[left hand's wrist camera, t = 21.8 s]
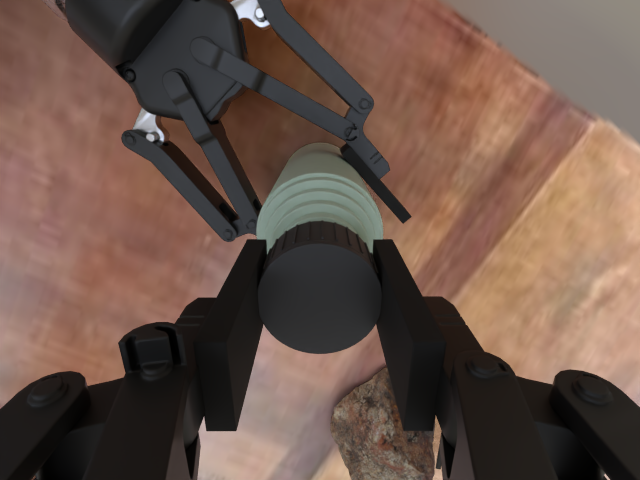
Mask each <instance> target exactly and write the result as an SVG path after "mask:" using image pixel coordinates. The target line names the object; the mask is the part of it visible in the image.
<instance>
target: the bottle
mask: <svg viewBox="0 0 640 480" xmlns="http://www.w3.org/2000/svg"><path fill="white" fill-rule="evenodd" d="M339 149H340V148H338V147H337V146H334V145H332V144H328V143H311V144H308V145H305V146H303V147H301V148H300V149H298V150H297V151H296V152H294V154H293V155H292V156H291V157H290V158H289V160H288V162H287V163H286V165H285V167H284V169H283V170H282V172H281V174H280V176H279V178H278V179H277V181H276V183H275V185H274V187H273V188H272V190H271V192H270V194H269V196H268V197H267V199H266V201H265V203H264V205H263V207H262V208H261V211H260V214H259V216H258V221H257V229H256V235H257V239H266V241H267V254H268V252H269V249H270V248H272V246H273V245H274V243H275V241H276V239H279V237H280V236H281V235H283V234H284V233H285V231H286V230H287V231H288V230H289V229H291V228H293V227H295V226H296V225H297V224H298V225H299V224H303V223H306V222H308V221H310V222H312V221H321V220H323V221H328V222H333V223H334V222H336V223H337V224H340V225H342V226H345V227H348V228H349V229H350V230H352V231H353V232H355V233H356V234H359V237H360V238H361V239H362V240H363V241H364V243H365V242H366V243H367V246H368V249H369V251H370V253H371V252H372V253H373V239H383V223H382V218H381V215H380V212H379V209H378V207H377V205H376V204H375V202H374V200H373V198H372V196H371V195H370V193H369V191H368V189H367V187H366V186H365V184H364V182H363V180H362V178H361V176H360V175H359V174H358V172H357V171H356V170H355V169H354V168H353V167H352V166H351V165H350V163H349V162H348V161H347V160H346V159H345V158H344V157H343V156H342V154H341V152H340V150H339Z"/></svg>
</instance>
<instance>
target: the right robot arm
mask: <svg viewBox="0 0 640 480" xmlns="http://www.w3.org/2000/svg"><path fill="white" fill-rule="evenodd" d="M42 1H43V2H44V3H45V4H46V5H47V6H48V7H49V8H50V9H51V10H52V11H53V12H54V13H55V14H56V15H57V16H59V17H60V18H62V19H64V20H66V21H68V23H69V25H70V27H71V28H72V30H73V31H74V32H75V33H76V34H77V35H78V36H79V37H80V38H81V39H82V40H83V41H84V42H85V43H86V44H87V45H88V46H89V47H90V48H91V49H93V50H94V51H95V52H96V53H97V54H98V55H99V56H100V57H101V58H102V59H103V60H104V61H105V62H106V63H107V64H108V65H109V66H110V67H111V68H112V69H113V70H114V71H115V72H116V73H117V74H118V75H119V76H120V77H122V78H123V79H124V80H125V81H126V82H127V83H128V84H129V85H130V86H131V88H132V89H133V91H134V93H135V95H136V98H137V100H138V102H139V104H140V106H141V107H142V108H141V111H140V113H139V115H138V118H137V120H136V122H135V125H134V127H133V129H132V130H127V131H125V132H124V133H123V134H122V137H121V139H122V142H123V144H124V145H125V146H126V147H127V148H129V149H130V150H132V151H134V152H135V153H137V154H139V155H140V156H142V157H144V158H146V159H147V160H149V161H151V162H152V163H153V164H154V165H155V167H156V168H157V169H158V170H159V171H160V172H161V173H162V174H163V175H164V176H165V177H166V178H167V180H168V181H169V182H170V183H171V184H172V185H173V186H174V187H175V188H176V189H177V190H178V192H179V193H180V194H181V195H182V196H183V197H184V198H185V199H186V200H187V201H188V202H189V203H190V205H191V206H192V207H193V208H194V209H195V210H196V211H197V212H198V213H199V214H200V215H201V217H202V218H203V219H204V220H205V221H206V222H207V223H208V224H209V225H210V226H211V227H212V228H213V230H214V231H215V232H216V233H217V234H218V235H219V236H220V237H221V238H222V239H223V240H224V241H227V242H231V241H233V240H234V239H235V238H237V237H239V236H242V235H244V234H247V233H251V234H254V235H256V229H257V221H258V216H259V214H260V211H261V208H262V205H261V203H260V201H259V199H258V197H257V195H256V193H255V191H254V189H253V187H252V185H251V184H250V182H249V180H248V178H247V176H246V174H245V172H244V170H243V168H242V166H241V164H240V162H239V160H238V158H237V156H236V154H235V152H234V150H233V148H232V146H231V144H230V142H229V140H228V138H227V136H226V133H225V129H224V127H223V125H222V123H221V121H220V118H221V117H222V116H223V115H224V114H225V112H226V111H227V109H228V107H229V105H230V103H231V101H233V100H234V99H236V98H238V97H239V96H241V95H242V94H243V93H244V92H245V91H246V90H247V89H248V88H250V89H252V90H254V91H256V92H258V93H260V94H262V95H263V96H265V97H267V98H269V99H271V100H272V101H274V102H276V103H278V104H280V105H281V106H283V107H285V108H287V109H289V110H290V111H292V112H294V113H296V114H298V115H299V116H301V117H303V118H305V119H307V120H308V121H310V122H312V123H314V124H316V125H318V126H319V127H321V128H323V129H325V130H327V131H328V132H330V133H332V134H334V135H336V136H337V137H339V138H341V139H343V140H344V141H345V142H346V144H345V145H344V146H343V147H342V148H341V149H339V150H340V152H341V154H342V156H343V157H344V158H345V159H346V160H347V161H348V162H349V163H350V165H351V166H352V167H353V168H354V169H355V170H356V171H357V172H358V174H359V175H360V176H361V177H362V178H363V179H364V180H365V181H366V183H367V184H368V185H369V186H370V187H371V188H372V189H373V190H374V192H375V193H376V194H377V195H378V196H379V197H380V198H381V199H382V201H383V202H384V203H385V204H386V205H387V206H388V207H389V208H390V210H391V211H392V212H393V213H394V214H395V215H396V216H397V217H398V219H399V220H400V221H401V222H402V223H405V222H406V221H407V220H408V219H409V218H411V215H410V214H409V213H408V212H407V210H406V209H405V208H404V207H403V206H402V204H401V203H400V202H399V201H398V200H397V199H396V198H395V196H394V195H393V194H392V193H391V192H390V191H389V190H388V188H387V187H386V186H385V185H384V184H383V183H382V181H381V180H380V178H382V177H383V176H384V175H385V174H386V173H387V172H388V171H390V168H389V165H388V162H387V161H386V160H385V159H384V158H383V156H382V155H381V154H380V153H379V152H378V150H377V149H376V148H375V147H374V146H373V145H372V143H371V142H370V141H369V140H368V139H367V138H366V136H365V135H364V132H363V124H364V122H365V120H366V118H367V116H368V114H369V112H370V111H371V110H372V109H373V106H374V101H373V99H372V97H371V96H370V95H369V94H368V93H367V92H366V91H365V90H364V89H363V88H362V87H361V86H360V85H359V84H358V83H357V82H356V81H355V80H354V79H353V78H352V77H351V76H350V75H349V74H348V73H347V72H346V71H345V70H344V69H343V68H342V67H341V66H340V65H339V64H338V63H337V62H336V61H335V60H334V59H333V58H332V57H331V56H330V55H329V54H328V53H327V52H326V51H325V50H324V49H323V48H322V47H321V46H320V45H319V44H318V43H317V42H316V41H315V40H314V39H313V38H312V37H311V36H310V35H309V34H308V33H307V32H306V31H305V30H304V29H303V28H302V27H301V26H300V25H299V24H298V23H297V22H296V21H295V20H294V19H293V18H292V17H291V16H290V15H289V14H288V13H287V12H286V10H285V8H284V6H283V4H282V2H281V0H234V1H232V2H231V3H230V2H228V1H227V0H42ZM245 21H251V22H253V23H254V24H255V25H256V26H257V27H258V28H259V29H261V30H268V29H269V28H271V27H272V28H273V30H274V31H275V32H276V34H277V35H278V37H279V38H280V39H281V40H282V41H283V42H284V43H285V44H286V45H287V46H288V47H289V48H290V49H291V50H292V51H293V52H294V53H295V54H296V55H297V56H298V57H299V58H300V59H301V60H302V61H304V62H305V63H306V64H307V65H308V66H309V67H310V68H311V69H312V70H313V71H314V72H315V73H316V74H317V75H318V76H319V77H320V78H321V79H322V80H323V81H324V82H325V83H326V84H327V85H328V86H329V87H330V88H331V89H332V90H333V91H334V92H335V93H336V94H337V95H338V96H339V97H340V98H342V99H343V100H344V101H345V102H346V103H347V104H348V105H349V106H350V107H349V109H348V111H347V113H346V115H345V117H342V116H340V115H338V114H337V113H335V112H333V111H331V110H329V109H328V108H326V107H324V106H322V105H321V104H319V103H317V102H315V101H314V100H312V99H310V98H308V97H306V96H305V95H303V94H301V93H299V92H298V91H296V90H294V89H292V88H291V87H289V86H287V85H285V84H284V83H282V82H280V81H278V80H276V79H275V78H273V77H271V76H269V75H268V74H266V73H264V72H262V71H261V70H259V69H257V68H255V67H253V66H252V65H250V64H249V60H248V54H247V48H246V42H245V36H244V31H243V25H242V23H243V22H245ZM161 116H162V117H167V118H172V119H177V120H182V121H184V122H185V124H186V125H187V127H188V129H189V131H190V133H191V135H192V136H193V138H194V140H195V141H196V142H197V143H198V144H199V145H200V146H201V148H202V149H203V151H204V153H205V155H206V157H207V159H208V161H209V162H210V164H211V166H212V168H213V170H214V172H215V173H216V175H217V177H218V179H219V181H220V183H221V185H222V186H223V188H224V190H225V192H226V194H227V196H228V198H229V199H230V201H231V203H232V205H233V207H234V209H235V210H236V212H237V213H236V212H235V211H234V210H233V209H232V208H231V207H230V205H229V204H228V203H227V202H226V201H225V200H224V199H223V198H222V196H221V195H220V194H219V193H218V192H217V191H216V190H215V188H214V187H213V186H212V185H211V184H210V183H209V182H208V180H207V179H206V178H205V177H204V176H203V175H202V174H201V173H200V171H199V170H198V169H197V168H196V167H195V166H194V165H193V163H192V162H191V161H190V160H189V159H188V158H187V157H186V155H185V154H184V153H183V152H182V151H181V150H180V149H179V148H178V147H177V146H176V145H175V144H173V143H172V142H171V141H169V133H168V131H167V130H166V129H165V128H164V127H163V125H162V123H161ZM237 214H238V215H237ZM256 236H257V235H256Z"/></svg>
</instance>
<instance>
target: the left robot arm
mask: <svg viewBox="0 0 640 480" xmlns="http://www.w3.org/2000/svg"><path fill="white" fill-rule="evenodd" d="M372 255H373V257H374V260H375V263H376V266H377V269H378V272H379V275H378V277H379V280H380V283H381V287H382V299H381V313H380V316H379V319H378V321H377V323H376V325H377V329H378V333H379V337H380V341H381V345H382V349H383V353H384V357H385V361H386V364H387V368H388V372H389V376H390V380H391V384H392V388H393V392H394V396H395V400H396V404H397V408H398V412H399V416H400V420H401V424H402V427H403V431H433V429H434V422H435V416H437V419H438V422H439V424H440V427H441V430H442V432H441V438H440V445H439V451H438V457H437V463H436V469H441V466H442V475H443V480H607V479H606V478H605V476H604V474H606V475H607V476H608V477H609V479H610V480H640V407H639V406H638V405H637V404H636V403H634V402H633V401H632V400H631V399H630V398H629V397H628V396H627V395H626V394H625V393H624V392H623V391H621V390H620V389H619V388H617V387H616V386H615V385H613V384H612V383H611V382H609V381H607V380H605V379H603V378H601V377H599V376H597V375H594V374H591V373H588V372H584V371H579V370H565V371H560V372H559V373H558V374H557V375H556V376H555V378H554V382H553V385H552V384H547V383H543V382H538V381H534V380H529V379H525V378H522V377H518V376H516V375H515V373H514V371H513V370H512V369H511V367H510V366H509V365H508V364H507V363H506V362H505V361H503V360H502V359H501V358H499V357H497V356H495V355H492V354H490V353H487V352H484V350H483V349H482V347H481V346H480V344H479V343H478V341H477V340H476V338H475V337H474V335H473V334H472V332H471V331H470V329H469V328H468V326H467V325H466V324H465V322H464V320H463V319H462V317H460V314H459V312H458V311H457V309H456V308H455V306H454V305H453V304H451V303H450V302H449V301H447V300H446V299H444V298H443V297H422V295H421V293H420V291H419V289H418V287H417V285H416V283H415V281H414V280H413V278H412V276H411V274H410V272H409V270H408V268H407V266H406V264H405V263H404V261H403V259H402V257H401V255H400V253H399V251H398V249H397V247H396V246H395V244H394V242H393V240H392V239H373V253H372ZM266 257H267V241H266V239H247V241H246V243H245V245H244V247H243V249H242V251H241V252H240V254H239V256H238V258H237V260H236V262H235V264H234V266H233V268H232V269H231V271H230V273H229V275H228V277H227V279H226V281H225V283H224V285H223V286H222V288H221V290H220V292H219V294H218V296H217V298H197V299H196V300H194V301H193V302H191V303H190V304H189V305H187V306H186V307H185V309H184V310H183V312H182V313H181V315H180V318H178V320H177V321H176V323H175V324H173V323H169V322H155V323H151V324H146V325H143V326H141V327H138V328H136V329H133V330H132V331H130V332H129V333H127V334H126V335H124V336H123V338H122V339H121V340H120V341H119V343H118V344H119V348H120V352H121V356H122V360H123V364H124V368H125V372H126V374H125V376H124V377H123V378H120V379H117V380H113V381H108V382H104V383H99V384H95V385H90V386H87V383H86V380H85V377H84V376H82V375H81V374H80V373H77V372H72V371H67V372H58V373H55V374H51V375H48V376H45V377H43V378H41V379H39V380H37V381H35V382H33V383H31V384H29V385H28V386H26V387H25V388H24V389H22V390H21V391H20V392H18V393H17V394H16V395H15V396H14V397H13V398H12V399H11V400H10V401H9V402H8V403H7V404H5V405H4V406H3V407H2V408H1V409H0V480H31V479H32V478H33V477H34V476H35V475H36V478H35V479H34V480H197V476H198V466H199V457H200V447H201V446H200V439H199V432H198V431H199V428H200V425H201V423H202V420H203V417H204V418H205V424H206V431H236V430H237V426H238V422H239V418H240V414H241V410H242V407H243V403H244V399H245V395H246V391H247V387H248V383H249V379H250V375H251V371H252V367H253V363H254V359H255V355H256V351H257V348H258V344H259V340H260V336H261V332H262V328H263V322H262V320H261V318H260V315H259V304H258V285H259V282H260V281H259V280H260V277H261V274H262V271H263V270H262V269H263V266H264V263H265V260H266Z"/></svg>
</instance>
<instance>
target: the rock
mask: <svg viewBox="0 0 640 480" xmlns="http://www.w3.org/2000/svg"><path fill="white" fill-rule="evenodd" d="M331 420H332V422H331V429H330V430H331V433H332V437H333V438H334V440H335V442H336V443H337V444H338V447H339V451H340V454H341V456H342V458H343V461H344V463H345V465H346V467H347V468H348V469H349V474H350V477H351V479H352V480H432V479H433V476H434V465H435V459H434V453H433V444H432V442H433V436H434V430H435V422H434V429H433V431H403V427H402V424H401V420H400V416H399V412H398V408H397V404H396V400H395V396H394V392H393V388H392V384H391V380H390V376H389V372H388V368H387V367H386V368H383V369H382V370H381V371H380V372H378V373H377V374H376V375H374V376H373V379H371V380H369V381H368V382H366V383H364V384H362V385H360V386H359V387H355V389H354V390H353V391H351V393H350V394H348V395H347V396H345V397H344V398H343V399H342V400H341V401H340V402H339V403H338V405H337V406H336V407H335V408H334V413H333V415H332V418H331Z"/></svg>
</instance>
